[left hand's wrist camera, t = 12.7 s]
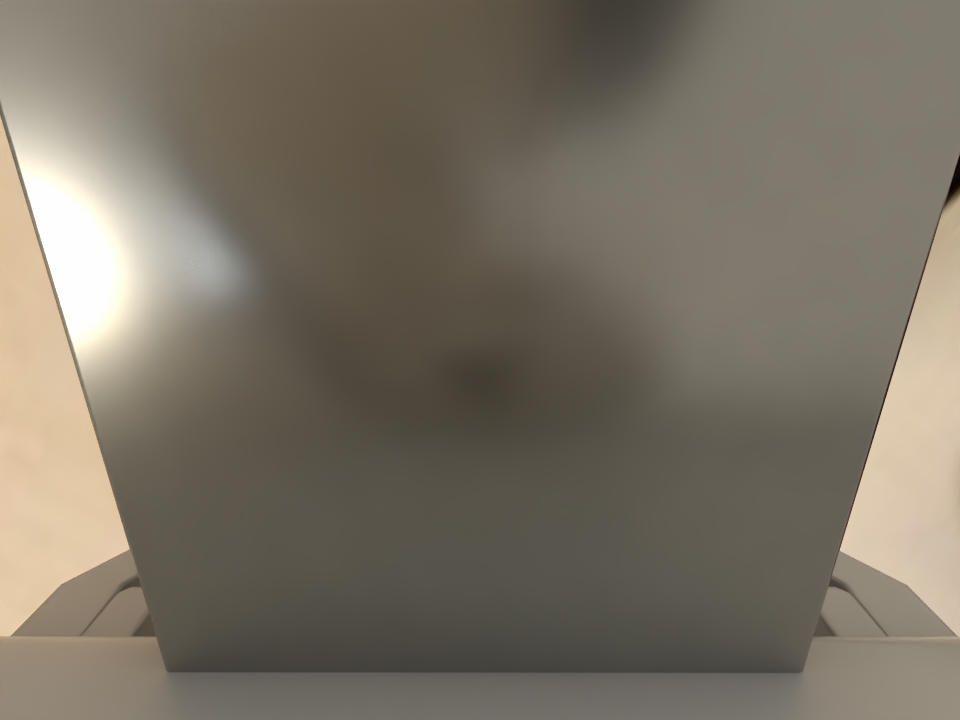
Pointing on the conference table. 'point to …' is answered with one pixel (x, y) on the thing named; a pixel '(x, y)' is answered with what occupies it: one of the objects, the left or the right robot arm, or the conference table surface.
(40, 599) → the conference table surface
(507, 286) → the box
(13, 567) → the conference table surface
